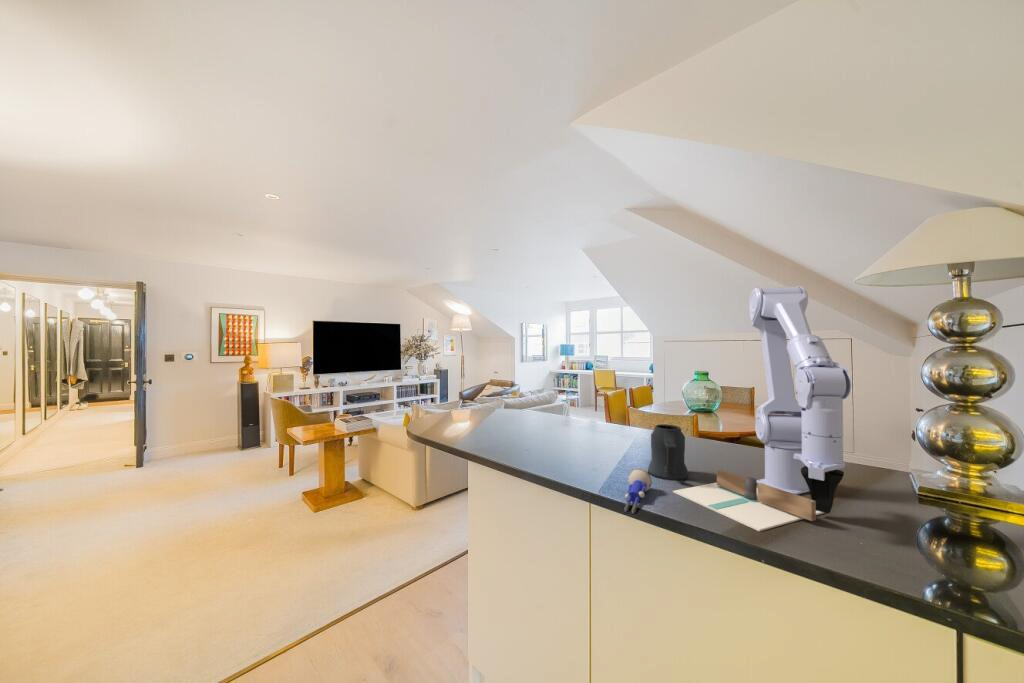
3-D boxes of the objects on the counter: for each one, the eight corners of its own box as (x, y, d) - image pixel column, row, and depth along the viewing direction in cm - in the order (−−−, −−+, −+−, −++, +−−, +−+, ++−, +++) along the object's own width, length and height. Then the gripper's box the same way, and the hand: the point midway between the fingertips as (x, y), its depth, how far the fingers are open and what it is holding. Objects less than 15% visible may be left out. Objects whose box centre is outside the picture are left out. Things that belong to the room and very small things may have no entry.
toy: (645, 523, 67) (656, 484, 80) (635, 498, 67) (648, 463, 80) (620, 525, 69) (635, 487, 82) (611, 501, 69) (627, 467, 82)
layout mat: (732, 480, 85) (732, 478, 85) (824, 512, 69) (824, 510, 69) (672, 492, 78) (672, 490, 78) (759, 531, 62) (759, 529, 62)
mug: (646, 466, 95) (646, 421, 95) (685, 469, 93) (685, 424, 93) (649, 482, 84) (649, 432, 84) (694, 487, 81) (694, 434, 81)
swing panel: (757, 500, 72) (757, 483, 72) (761, 499, 73) (761, 483, 73) (811, 521, 64) (811, 502, 64) (815, 519, 64) (815, 501, 64)
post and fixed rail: (722, 487, 81) (721, 467, 81) (759, 501, 74) (758, 479, 74) (715, 488, 80) (715, 468, 80) (752, 503, 73) (752, 481, 73)
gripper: (800, 424, 75) (801, 493, 75) (786, 436, 65) (786, 516, 64) (848, 430, 70) (848, 504, 70) (840, 444, 60) (841, 530, 59)
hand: (822, 510), depth 67 cm, fingers closed
